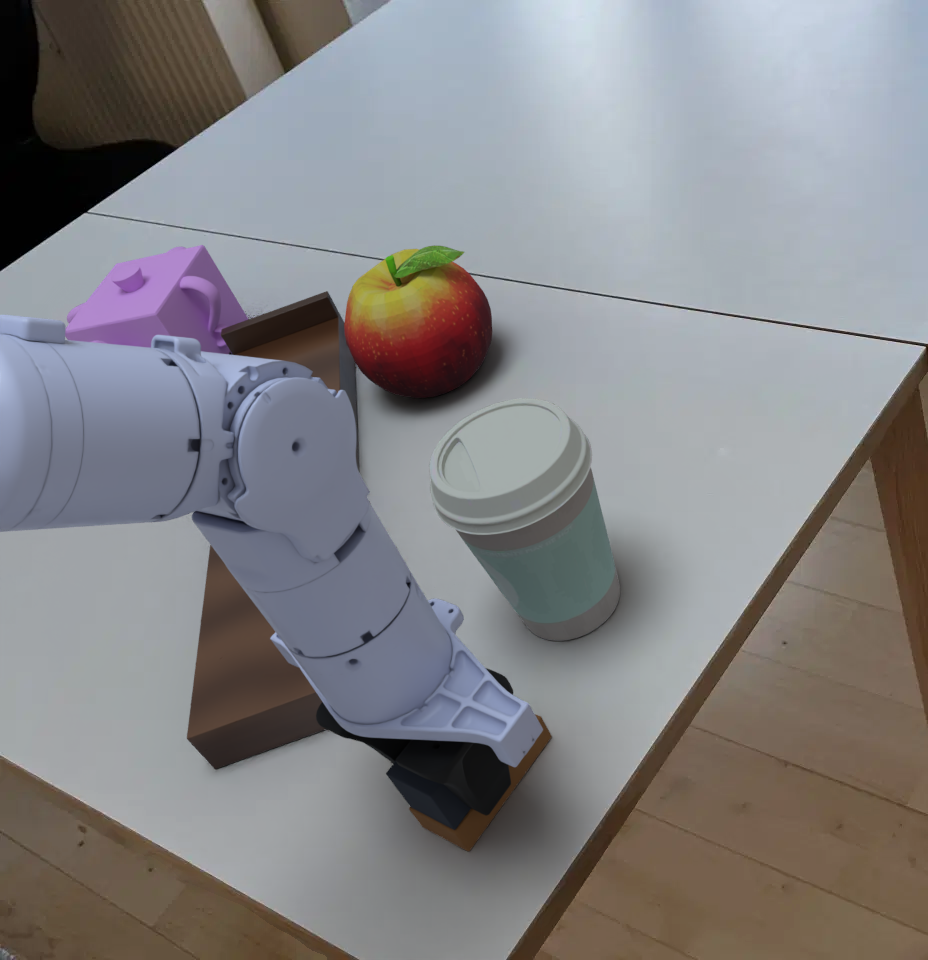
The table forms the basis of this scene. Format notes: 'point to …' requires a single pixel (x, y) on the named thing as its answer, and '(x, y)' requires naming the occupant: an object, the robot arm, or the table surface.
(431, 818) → the cube on wooden base
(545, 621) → the coffee cup
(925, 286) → the table surface
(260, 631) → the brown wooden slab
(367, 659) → the robot arm
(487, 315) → the fruit
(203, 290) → the teapot
